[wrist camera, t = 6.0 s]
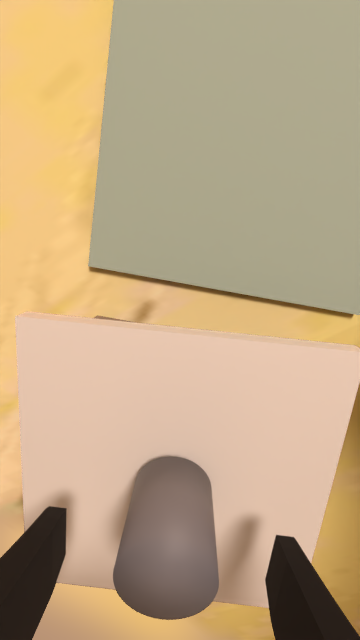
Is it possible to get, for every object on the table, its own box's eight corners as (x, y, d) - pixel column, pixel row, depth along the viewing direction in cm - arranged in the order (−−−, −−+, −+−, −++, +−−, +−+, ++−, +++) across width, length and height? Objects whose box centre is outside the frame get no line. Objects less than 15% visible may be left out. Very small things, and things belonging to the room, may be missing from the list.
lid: (354, 345, 11) (461, 407, 7) (292, 591, 14) (336, 743, 10) (27, 311, 11) (-77, 350, 7) (35, 560, 14) (-33, 696, 10)
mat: (465, -19, 12) (474, -28, 11) (355, 313, 15) (359, 315, 15) (125, -81, 12) (122, -92, 11) (90, 265, 15) (88, 266, 15)
